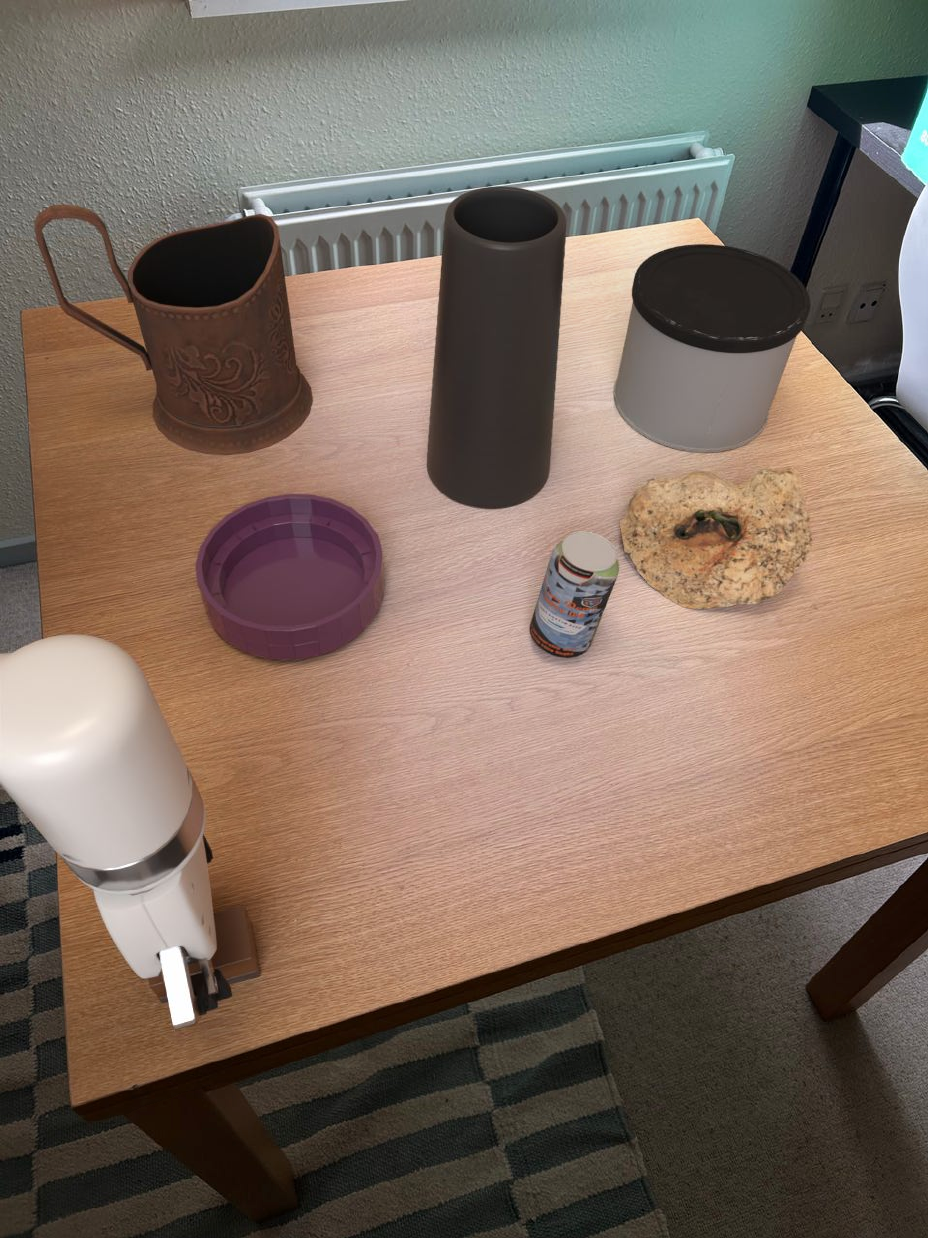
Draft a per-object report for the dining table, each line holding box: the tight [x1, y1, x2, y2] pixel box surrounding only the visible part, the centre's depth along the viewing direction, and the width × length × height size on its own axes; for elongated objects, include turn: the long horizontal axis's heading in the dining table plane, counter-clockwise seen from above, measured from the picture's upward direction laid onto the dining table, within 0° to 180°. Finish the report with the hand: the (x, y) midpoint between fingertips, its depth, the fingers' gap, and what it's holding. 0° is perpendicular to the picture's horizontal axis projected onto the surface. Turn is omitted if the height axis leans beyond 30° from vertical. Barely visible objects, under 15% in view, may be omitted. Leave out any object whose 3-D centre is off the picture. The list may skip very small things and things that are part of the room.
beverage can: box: [528, 530, 620, 659], centre depth 83 cm, size 6×7×12 cm
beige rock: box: [619, 466, 814, 610], centre depth 92 cm, size 18×14×8 cm
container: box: [613, 243, 811, 453], centre depth 104 cm, size 19×19×15 cm
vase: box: [426, 186, 567, 510], centre depth 90 cm, size 14×14×29 cm
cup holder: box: [33, 204, 314, 456], centre depth 97 cm, size 18×24×25 cm
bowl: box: [195, 493, 385, 661], centre depth 88 cm, size 17×17×5 cm
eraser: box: [148, 904, 261, 1005], centre depth 66 cm, size 7×4×4 cm, turn 107°
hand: (198, 928), depth 62 cm, fingers open, 9 cm apart
